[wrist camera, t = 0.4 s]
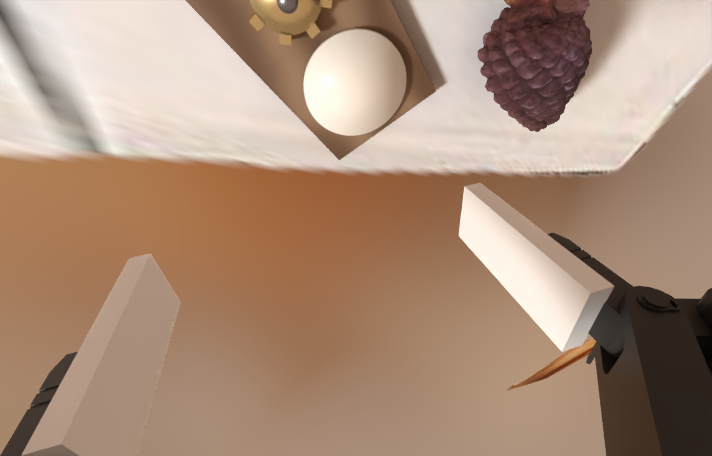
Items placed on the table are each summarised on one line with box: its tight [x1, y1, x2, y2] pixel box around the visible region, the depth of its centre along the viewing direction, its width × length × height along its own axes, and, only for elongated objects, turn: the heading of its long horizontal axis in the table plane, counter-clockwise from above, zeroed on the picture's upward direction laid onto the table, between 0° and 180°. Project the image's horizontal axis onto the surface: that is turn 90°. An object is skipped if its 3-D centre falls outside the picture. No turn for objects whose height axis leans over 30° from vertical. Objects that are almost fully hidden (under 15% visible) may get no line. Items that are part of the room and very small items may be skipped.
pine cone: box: [478, 0, 592, 132], centre depth 32 cm, size 18×10×10 cm, turn 25°
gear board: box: [186, 0, 435, 160], centre depth 31 cm, size 14×22×2 cm, turn 35°
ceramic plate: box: [303, 28, 406, 136], centre depth 33 cm, size 11×11×1 cm
